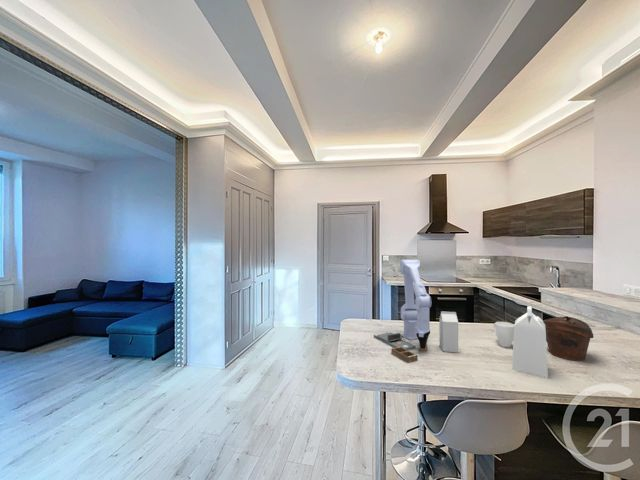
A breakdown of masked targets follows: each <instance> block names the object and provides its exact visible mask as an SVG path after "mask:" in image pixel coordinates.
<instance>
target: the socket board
mask: <svg viewBox="0 0 640 480" xmlns="http://www.w3.org/2000/svg"><path fill="white" fill-rule="evenodd" d="M390 350H391V352H390V353H391V354H392V355H393V356H394V357H396V358H399V359H400V360H402V361H404V362H405V363H407V364H411V363H414V362H416V361H419V360H418V359H419V358H418V355H417V354H416V353H414V352H412V351H410V350H406V349H404V348H402V347H396V348H393V347H392V348H391V349H390Z"/></svg>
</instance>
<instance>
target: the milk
mask: <svg viewBox="0 0 640 480" xmlns="http://www.w3.org/2000/svg"><path fill="white" fill-rule="evenodd" d="M543 321H544V320H542V318H541V317H539V316H538V315H535V314H534V313H533V308H532V306H529V305H527V308H526V313H524V314H522V315H521V316H519V317H517V319H515V321H514V340H513V342H512V345H513V347H512V366H511V370H513V371H515V372H516V371H517V372H519V373H520V372H521V373H525V374H529V375H532V376H537V377H541V378H546V379H548V377H549V376H548V373H549V372H548V353H547V349H548V348H547V342H546V328H545V324H544V323H543Z"/></svg>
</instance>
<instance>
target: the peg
mask: <svg viewBox="0 0 640 480" xmlns="http://www.w3.org/2000/svg"><path fill="white" fill-rule="evenodd" d="M419 350H420V351H421V352H427V351H428V340H427V341H426V347H425V349H422V348H420V347H419Z"/></svg>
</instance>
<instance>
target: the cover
mask: <svg viewBox="0 0 640 480" xmlns="http://www.w3.org/2000/svg"><path fill="white" fill-rule="evenodd" d="M401 334H402V333H400V332H396V333H393V332H385V333H380V334H376V336H378V337H380V338H381V339H383V340H385V341H387V342H389V343H391V342H393V341H394V342H395V341H398V340H399V339H402V340H403V337H402V336H401Z"/></svg>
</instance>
